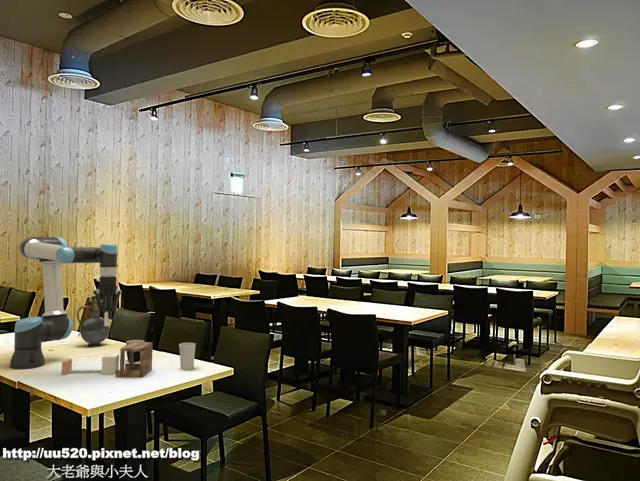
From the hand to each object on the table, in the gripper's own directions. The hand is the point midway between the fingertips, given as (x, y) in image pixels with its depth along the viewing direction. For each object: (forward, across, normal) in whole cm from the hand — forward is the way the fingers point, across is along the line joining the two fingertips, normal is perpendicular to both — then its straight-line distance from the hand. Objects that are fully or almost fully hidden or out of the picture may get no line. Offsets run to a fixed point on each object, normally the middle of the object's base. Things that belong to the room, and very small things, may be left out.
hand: (106, 325), depth 239 cm
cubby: (+22, +13, 0) cm, 26 cm away
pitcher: (+23, -31, +64) cm, 75 cm away
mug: (+23, +7, +27) cm, 36 cm away
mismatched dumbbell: (+22, -7, 0) cm, 23 cm away
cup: (+23, +36, +10) cm, 44 cm away
